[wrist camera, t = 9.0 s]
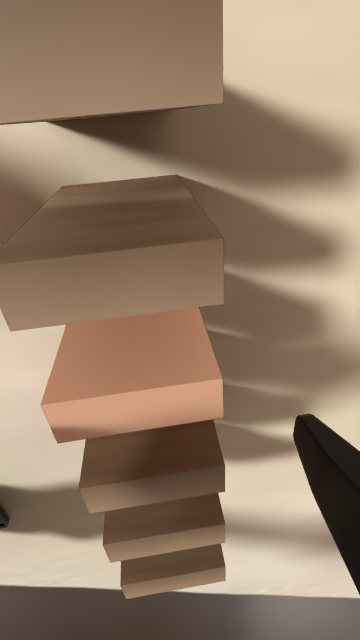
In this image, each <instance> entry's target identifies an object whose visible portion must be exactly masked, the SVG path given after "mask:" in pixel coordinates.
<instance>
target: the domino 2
mask: <svg viewBox="0 0 360 640" xmlns="http://www.w3.org/2000/svg"><path fill="white" fill-rule="evenodd" d="M219 304H224V238H223V237H222V236H221V234H220V233H219V232H218V230H217V229H216V227H215V226H214V225H213V223H212V222H211V221H210V219H209V218H208V217H207V215H206V214H205V213H204V211H203V210H202V208H201V207H200V206H199V204H198V203H197V202H196V200H195V199H194V198H193V196H192V195H191V194H190V192H189V191H188V190H187V188H186V187H185V185H184V184H183V183H182V181H181V180H180V179H179V177H178V176H177V175H168V176H159V177H149V178H139V179H130V180H120V181H110V182H100V183H91V184H81V185H71V186H62V187H61V188H60V189H59V190H58V191H57V192H56V193H55V194H54V195H53V196H52V197H51V198H50V199H49V200H48V201H47V202H46V203H45V204H44V205H43V206H42V207H41V208H40V209H39V210H38V211H37V212H36V213H35V214H34V215H33V216H32V217H31V218H30V219H29V220H28V221H27V222H26V223H25V224H24V225H23V226H22V227H21V228H20V229H19V230H18V231H17V232H16V233H15V234H14V235H13V236H12V237H11V238H10V239H9V240H8V241H7V242H6V243H5V244H4V245H3V246H2V247H1V248H0V309H1V311H2V313H3V315H4V318H5V320H6V322H7V325H8V327H9V329H10V331H17V330H25V329H33V328H40V327H48V326H56V325H64V324H72V323H79V322H87V321H95V320H103V319H110V318H118V317H126V316H134V315H141V314H149V313H157V312H165V311H173V310H180V309H188V308H196V307H204V306H211V305H219Z"/></svg>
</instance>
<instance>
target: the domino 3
mask: <svg viewBox="0 0 360 640" xmlns="http://www.w3.org/2000/svg"><path fill="white" fill-rule="evenodd" d="M41 407H42V410H43V412H44V414H45V416H46V419H47V421H48V423H49V425H50V428H51V430H52V432H53V434H54V436H55V439H56V441H57V443H63V442H69V441H76V440H82V439H89V438H95V437H102V436H108V435H114V434H121V433H127V432H134V431H140V430H147V429H153V428H160V427H166V426H173V425H179V424H185V423H192V422H198V421H205V420H211V419H218V418H223V378H222V375H221V372H220V369H219V366H218V363H217V360H216V357H215V354H214V351H213V349H212V346H211V343H210V340H209V337H208V334H207V331H206V328H205V325H204V322H203V319H202V316H201V313H200V310H199V308H198V307H196V308H188V309H180V310H173V311H165V312H157V313H149V314H141V315H134V316H126V317H118V318H110V319H103V320H95V321H87V322H79V323H72V324H66V327H65V331H64V334H63V337H62V340H61V343H60V346H59V349H58V352H57V356H56V359H55V362H54V365H53V368H52V371H51V374H50V377H49V381H48V384H47V387H46V390H45V393H44V396H43V399H42V403H41Z"/></svg>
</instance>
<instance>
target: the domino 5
mask: <svg viewBox="0 0 360 640" xmlns="http://www.w3.org/2000/svg"><path fill="white" fill-rule="evenodd" d="M220 543H225V521H224V517H223V513H222V508H221V504H220V499H219V495H218V493H213V494H207V495H201V496H195V497H189V498H183V499H177V500H171V501H165V502H158V503H152V504H146V505H140V506H134V507H128V508H122V509H116V510H110V511H105V521H104V535H103V547H104V549H105V551H106V554H107V556H108V558H109V560H110V563H111V562H117V561H123V560H129V559H134V558H140V557H146V556H152V555H157V554H163V553H169V552H174V551H180V550H186V549H192V548H197V547H203V546H209V545H214V544H220Z"/></svg>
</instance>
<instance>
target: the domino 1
mask: <svg viewBox="0 0 360 640" xmlns="http://www.w3.org/2000/svg"><path fill="white" fill-rule="evenodd" d="M221 103H223V0H0V125H4V124H19V123H33V122H47V121H58V120H69V119H80V118H91V117H102V116H113V115H124V114H135V113H146V112H157V111H168V110H176V109H184V108H191V107H199V106H206V105H213V104H221Z"/></svg>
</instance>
